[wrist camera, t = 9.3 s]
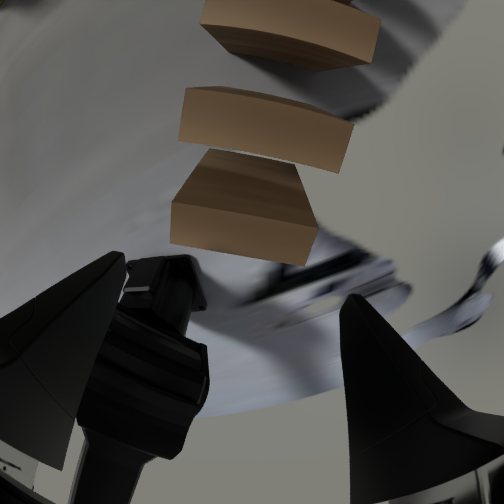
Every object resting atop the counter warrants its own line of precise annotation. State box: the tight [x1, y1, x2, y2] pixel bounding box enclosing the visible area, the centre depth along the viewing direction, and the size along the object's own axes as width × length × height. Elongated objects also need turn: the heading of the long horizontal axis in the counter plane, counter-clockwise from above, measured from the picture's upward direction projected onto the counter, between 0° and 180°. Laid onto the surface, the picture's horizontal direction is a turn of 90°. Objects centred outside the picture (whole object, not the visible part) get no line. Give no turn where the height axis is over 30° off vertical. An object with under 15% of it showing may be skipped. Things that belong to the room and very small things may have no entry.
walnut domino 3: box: [170, 148, 319, 267], centre depth 15 cm, size 2×6×9 cm, turn 79°
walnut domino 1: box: [199, 0, 381, 72], centre depth 10 cm, size 2×6×9 cm, turn 79°
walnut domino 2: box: [178, 86, 354, 173], centre depth 12 cm, size 2×6×9 cm, turn 79°
